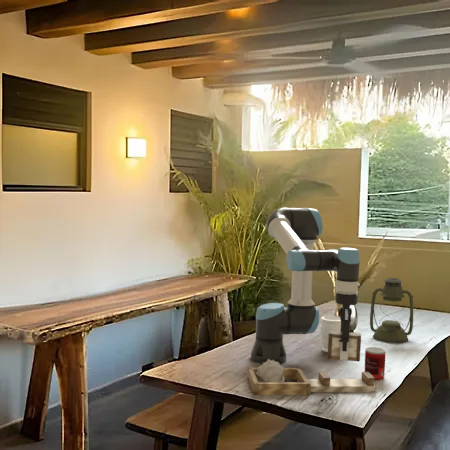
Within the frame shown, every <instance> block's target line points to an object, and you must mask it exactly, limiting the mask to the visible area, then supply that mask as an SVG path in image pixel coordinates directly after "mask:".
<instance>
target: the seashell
mask: <svg viewBox="0 0 450 450" xmlns="http://www.w3.org/2000/svg"><path fill="white" fill-rule="evenodd" d="M256 368H257V369H258V372H257V373H256V375H257V381H258V382H285V381H286V379H285V378H284V376H283V372H284V370H283V369H284V368H285V367H284V366H282V365H281V363H279V362H276V361H274V360H272V361H271V360H270V359H268V360H267V362H265V363H261V365H260V366H259V367H258V366H257V367H256Z"/></svg>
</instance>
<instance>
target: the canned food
mask: <svg viewBox="0 0 450 450" xmlns="http://www.w3.org/2000/svg"><path fill="white" fill-rule="evenodd" d="M385 367H386V350H385V349H384V348H382V347H376V346H375V347H373V346H372V347H371V346H370V347H366V348H365V353H364V371H363V372H369V373H370V374H371V375H372V376H373V377H374V378H375V381H377V382H378V381H382V380H384V379H385V371H386V370H385V369H386V368H385Z"/></svg>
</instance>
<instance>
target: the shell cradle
mask: <svg viewBox="0 0 450 450" xmlns="http://www.w3.org/2000/svg"><path fill="white" fill-rule="evenodd" d="M257 368H258V367H248V368H247V379H249V380H248V382H249V385H250V384H251V385H250V387H252V388H251V390H252V392H254V393H253V395H254V396H311V391H310V387H311V384H310V382H309V381H308V379H309V378H307V376H306V375H305V374H304V372H303V370H302V368H300V367H284V369H283V370H284V372H283V376H284V378H285V380H296V381H297V382H292V381H291V382H290V381H287V382H285V381H284V382H258V381H257V375H256V373H257V372H258V369H257Z"/></svg>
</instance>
